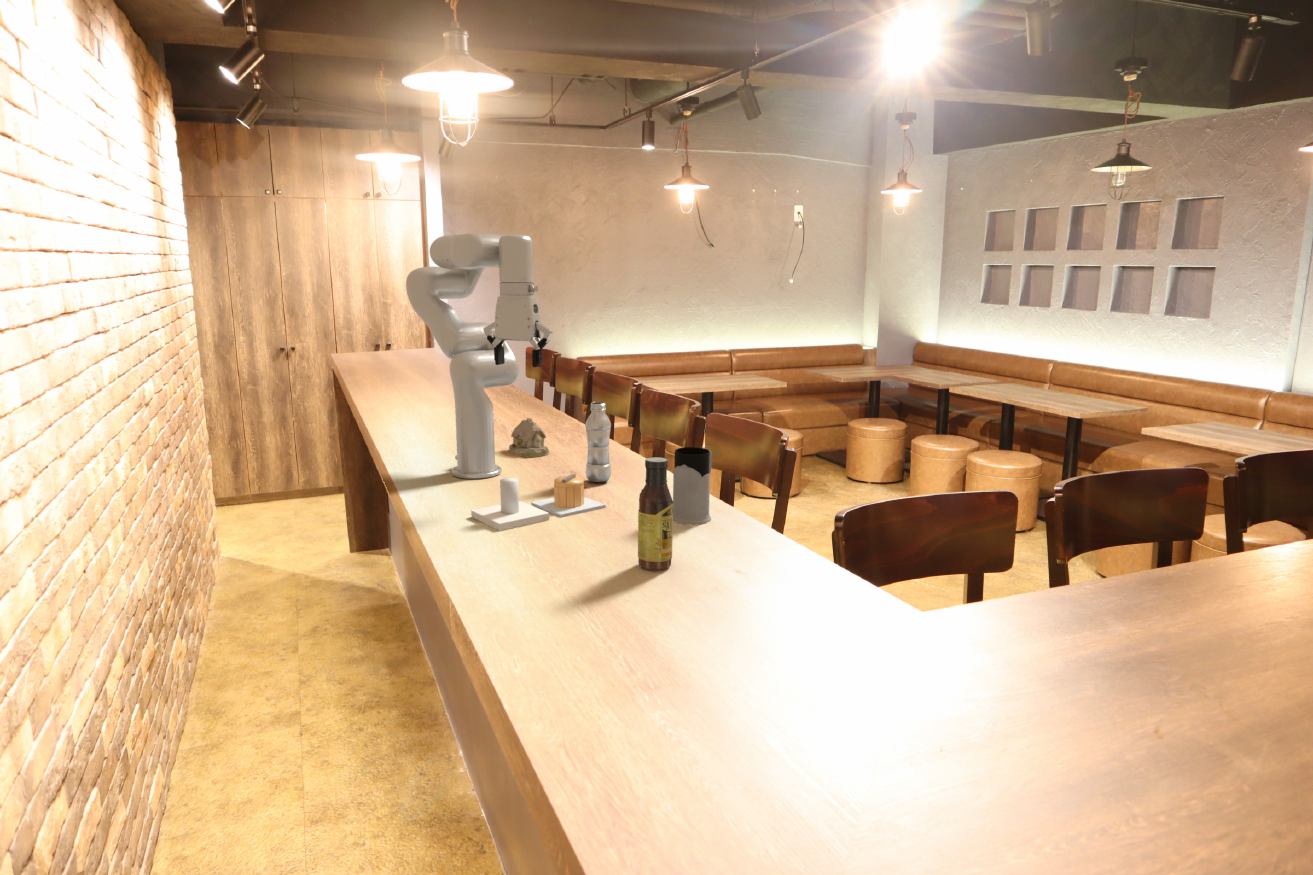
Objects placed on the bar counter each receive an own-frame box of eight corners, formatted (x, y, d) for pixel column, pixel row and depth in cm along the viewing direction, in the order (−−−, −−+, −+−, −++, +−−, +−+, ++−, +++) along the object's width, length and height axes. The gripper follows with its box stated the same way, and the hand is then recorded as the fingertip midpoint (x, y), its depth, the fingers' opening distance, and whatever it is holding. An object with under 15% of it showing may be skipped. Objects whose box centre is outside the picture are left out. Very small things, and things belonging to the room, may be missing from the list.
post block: (471, 516, 178) (470, 478, 176) (519, 506, 186) (519, 470, 184) (499, 530, 169) (498, 490, 167) (549, 519, 177) (548, 481, 175)
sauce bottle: (668, 573, 147) (670, 465, 143) (634, 570, 148) (634, 462, 144) (675, 561, 153) (676, 456, 149) (642, 558, 154) (643, 454, 150)
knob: (562, 498, 191) (562, 472, 190) (588, 501, 189) (588, 474, 187) (549, 505, 185) (548, 478, 183) (576, 509, 183) (575, 481, 181)
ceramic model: (501, 450, 242) (500, 416, 240) (536, 445, 249) (535, 412, 247) (524, 459, 231) (523, 424, 229) (559, 454, 238) (558, 420, 235)
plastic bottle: (613, 478, 211) (613, 401, 207) (609, 485, 204) (609, 405, 200) (588, 477, 212) (587, 400, 208) (583, 484, 205) (582, 405, 201)
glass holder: (663, 520, 177) (664, 452, 174) (691, 504, 189) (693, 440, 186) (700, 527, 173) (702, 457, 170) (727, 510, 185) (729, 444, 182)
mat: (531, 504, 188) (531, 502, 187) (575, 495, 195) (574, 493, 195) (560, 517, 179) (560, 514, 179) (605, 507, 186) (605, 504, 186)
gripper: (558, 291, 189) (559, 365, 193) (491, 289, 195) (494, 361, 198) (543, 292, 182) (544, 369, 186) (474, 290, 188) (477, 365, 191)
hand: (518, 365), depth 192 cm, fingers open, 9 cm apart
